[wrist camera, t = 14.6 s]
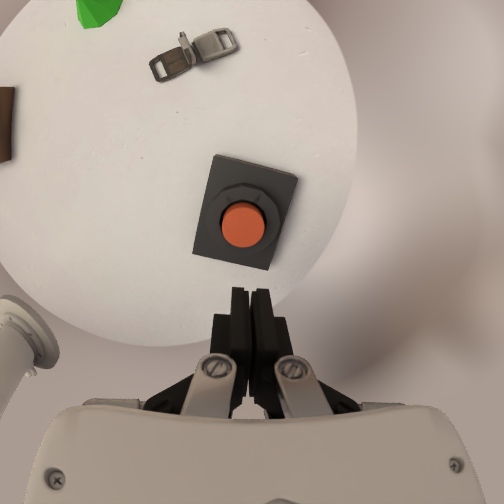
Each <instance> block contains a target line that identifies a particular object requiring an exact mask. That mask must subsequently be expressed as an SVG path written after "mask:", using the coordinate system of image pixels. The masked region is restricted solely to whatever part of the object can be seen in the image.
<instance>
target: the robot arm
mask: <svg viewBox="0 0 504 504" xmlns="http://www.w3.org/2000/svg"><path fill="white" fill-rule="evenodd" d="M0 327H1V329H0V419H1V417H2V415H3V413H4V410H5V409H6V407H7V405H8V403H9V401H10V399H11V397H12V395H13V393H14V392H15V390H16V388H17V386H18V385H19V383H20V381H21V379H22V378H23V376H24V374H25V375H26V376H27V377H31V376H32V375H33V376H36V375H37V372H36V370H35V368H34V365H35V363H36V362H41V361H42V360H43V358H44V356H45V350H44V347H43V344H42V342H41V340H40V339H39V337H38V335H37V334H36V333H35V331H34V330H33V329H32V328H31V327H30V326H29V325H28V324H27V323H26V322H25V321H24V320H23V319H22V318H20V317H19V316H17V315H15V314H13V313H10V312H6V313H4V314H3V315H2V316H1V317H0ZM248 379H249V395H250V397H254V403H255V404H258V405H260V406H261V407H262V408H263V409H264V415H265V419H232V415H233V410H234V409H235V408H237V407H238V406H239V405H241V404H242V398H243V397H246V392H247V384H248ZM23 504H486V502H485V498H484V495H483V492H482V488H481V486H480V483H479V480H478V477H477V475H476V472H475V469H474V467H473V464H472V462H471V459H470V457H469V454H468V452H467V450H466V448H465V446H464V444H463V442H462V440H461V438H460V436H459V434H458V432H457V430H456V429H455V427H454V425H453V424H452V422H451V421H450V420H449V418H448V417H447V416H446V414H445V413H443V412H442V411H441V410H439V409H437V408H434V407H431V406H424V405H405V404H401V403H374V402H362V403H361V404H357V403H356V402H355V401H354V400H352V399H350V398H349V397H347V396H345V395H343V394H341V393H340V392H338V391H336V390H334V389H333V388H331V387H329V386H327V385H326V384H324V383H322V382H321V381H319V380H317V378H316V376H315V374H314V372H313V370H312V368H311V366H310V364H309V363H308V362H307V361H306V360H305V359H303V358H301V357H299V356H294V355H293V350H292V346H291V342H290V337H289V333H288V329H287V324H286V320H285V317H274V315H273V309H272V304H271V298H270V293H269V289H260V288H257V289H256V291H252V294H251V304H250V306H249V291H244V288H241V287H232V298H231V313H230V315H226V314H214V318H213V327H212V337H211V347H210V354H208V355H205V356H204V357H202V358H201V359H200V361H199V362H198V364H197V367H196V370H195V373H194V374H192V375H190V376H189V377H187V378H185V379H183V380H181V381H180V382H178V383H176V384H175V385H173V386H171V387H169V388H167V389H165V390H164V391H162V392H160V393H158V394H156V395H154V396H153V397H151V398H150V399H148V400H147V401H139V399H96V398H95V399H90V400H87V401H86V402H84V404H83V405H81V406H75V407H71V408H67V409H65V410H63V411H62V412H61V413H59V414H58V415H57V416H56V417H55V418H54V420H53V421H52V423H51V424H50V426H49V428H48V430H47V431H46V433H45V436H44V438H43V440H42V442H41V445H40V447H39V450H38V452H37V455H36V458H35V461H34V464H33V467H32V471H31V474H30V478H29V482H28V485H27V489H26V494H25V498H24V503H23Z"/></svg>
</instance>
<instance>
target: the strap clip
mask: <svg viewBox="0 0 504 504" xmlns="http://www.w3.org/2000/svg"><path fill="white" fill-rule="evenodd" d="M224 32H226V33H227V35H228V37H229V39H230V41H231V43H232V45H233V46H232V47H230V48H228V49H224V47H223V45H222V43H221V41H220V39H219V37H218V35H217V34H221V33H224ZM178 40H179V42H180V44H181V46H182V48H181V47H177V48H174V49H172V50H169V51H167V52H165V53H162V54H160V55H158V56H157V57H155V58H154V59H152V60H151V61H150V62H149V66H150V68H151V70H152V72H153V75H154V77H155V80H156V81H157V82H162V81H165V80H168V79H171V78H173V77H174V76H176V75H178V74H180V73H182V72H184V71H186V70H188V69H189V68H190V65H194V64H196V56H195V54H194V52H193V50H192V48H191V46H190V44H189V42H188V40H187V38H186V35H185V33H184V32H180V38H178ZM193 41H194V42H192V45H193V47H194V49H195V52H196V54H197V56H198V58H199V60H200V61H201V60H203V61H204V62H206V61H209V60H212V59H215V58H218V57H221V56H224V55H227V54H229V53H231V52H233V51H234V50H235V49H236V48H237V44H236V42H235V40H234V38H233V36H232V34H231V32H230V30H229V29H228V28H219V29H215V30H212V31H210V32H208V33H205V34H203V35H201V36H199V37H197V38H195V39H194V40H193ZM158 60H161V62H162V64H163V66H164V69H165V71H166V73H167V76H166V77H163V78H161V79H159V77H158V75H157V72H156V70H155V68H154V65H153V64H154V63H155V62H156V61H158Z"/></svg>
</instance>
